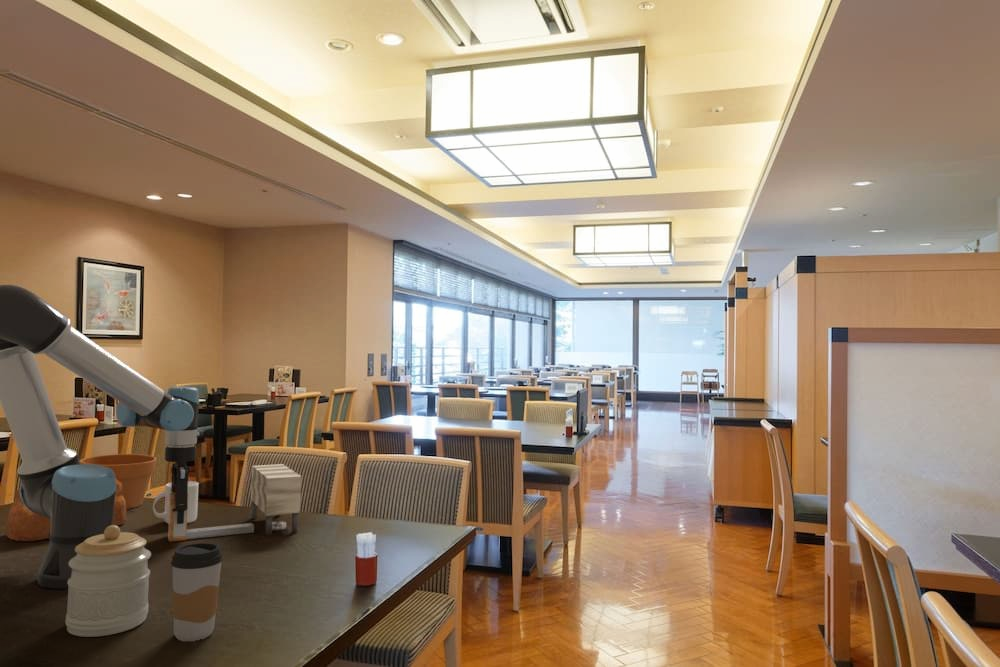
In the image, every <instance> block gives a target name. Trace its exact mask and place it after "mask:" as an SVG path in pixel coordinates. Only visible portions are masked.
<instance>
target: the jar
mask: <svg viewBox="0 0 1000 667" xmlns="http://www.w3.org/2000/svg"><path fill="white" fill-rule="evenodd" d="M146 545H147V540H146V538H143V537H141V536H139V535H138V534H136V533H135V532H127V531H126V532H125V531H121V529H120V527H119V525H118V526H116V525H111V526H108V527H107V528H106V529H105V531H104V534H100V535H96V536H92V537H90V538H87V539H86V540H85V541H84V542H83V543H81V544H79V545H78V546H76V547H75V552H76V553H77V555H76V556H75V557H73V558H72V559H71V560H70V561H69V563H68V565H69V567H70V568H72V573H71V577H70V578H69V580H68V582H67V584H68V588H67V590H68V591H67V605H66V606H67V609H66V615H65V625H66V632H68V633H69V634H70V635H73V636H77V637H85V638H94V637H95V638H96V637H104V636H105V637H106V636H111V635H116V634H119V633H123V632H126V631H129V630H132V629H134V628H136V627H138V626H139V625H140V626H141V624H143V622H145V621H146V619H147V616H148V613H149V606H150V604H149V582H150V575H151V570H150V569H149V568H148V561H149V559H150V558H151V557H152V552H151V551H150V550H149V549H147V548H145V546H146Z"/></svg>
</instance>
